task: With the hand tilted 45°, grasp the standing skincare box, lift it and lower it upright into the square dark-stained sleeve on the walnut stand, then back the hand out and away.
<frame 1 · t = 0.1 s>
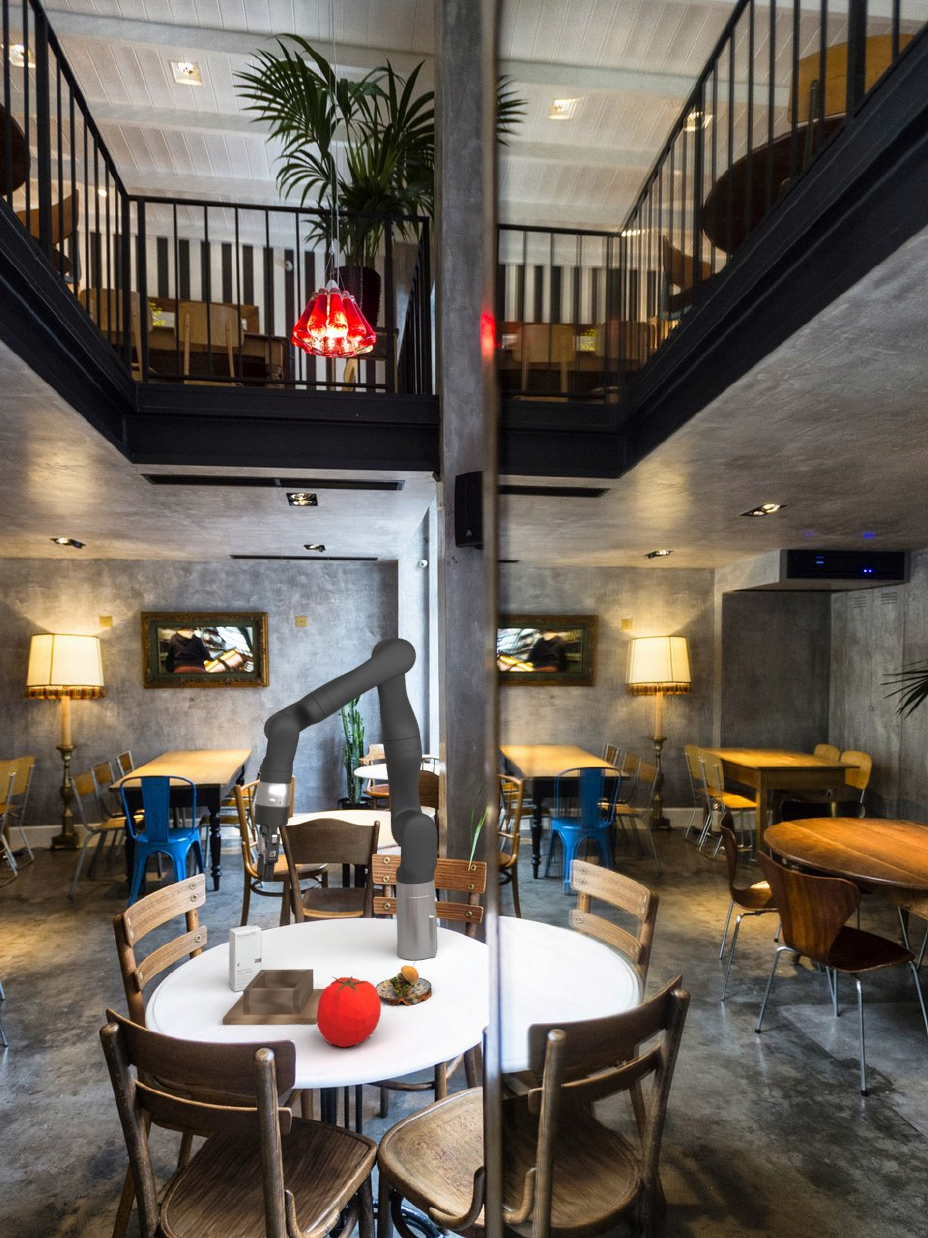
hand: (264, 878, 172), 22 cm above the table, tool pointing down, fingers open, 8 cm apart
open faced sandwich: (403, 997, 162), on the table
skincare box: (245, 987, 168), on the table
sleeve stand: (279, 1009, 156), on the table
tomato: (349, 1042, 141), on the table
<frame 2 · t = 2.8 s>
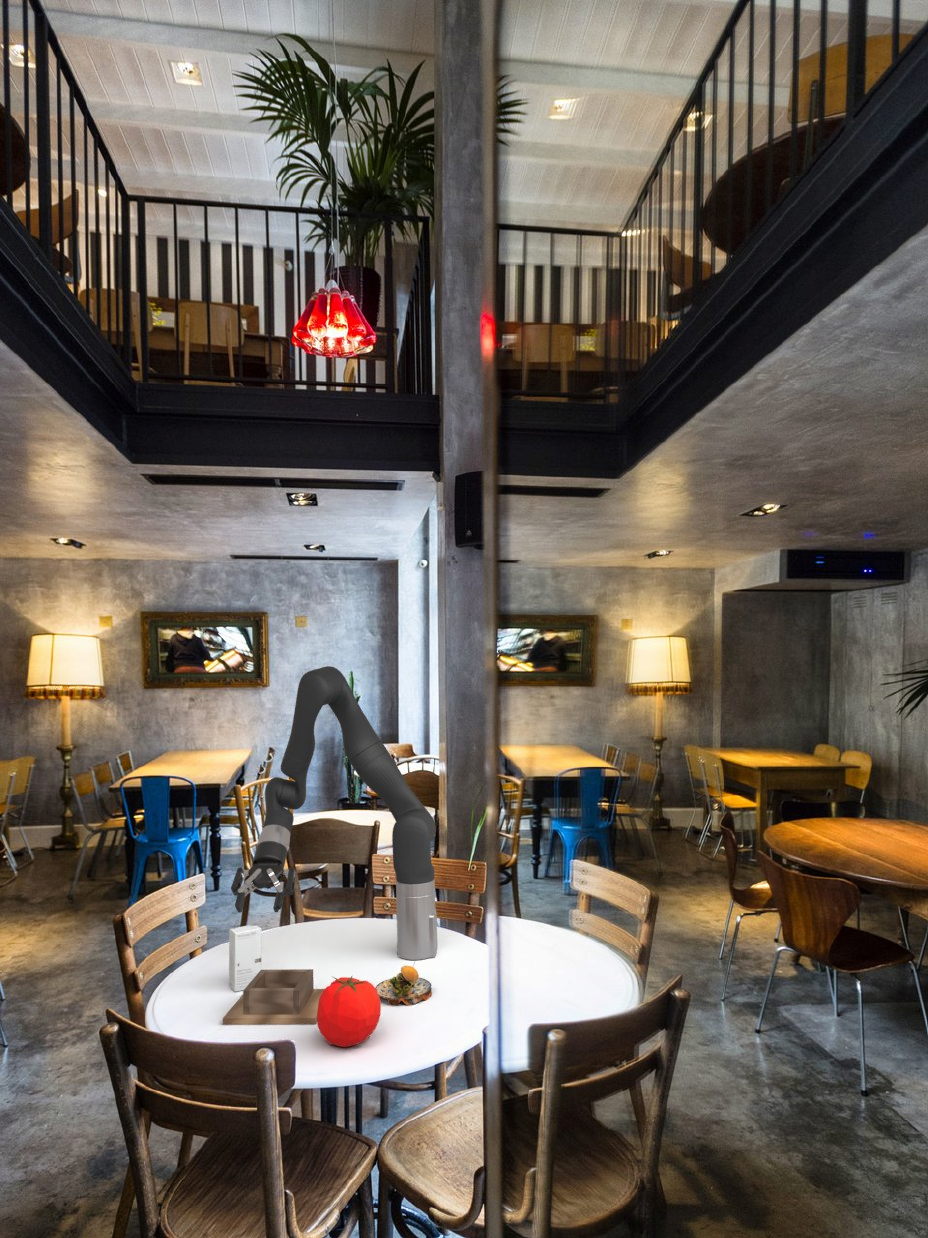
hand: (257, 910, 178), 13 cm above the table, tool tilted 45°, fingers open, 8 cm apart
nothing on the table moved.
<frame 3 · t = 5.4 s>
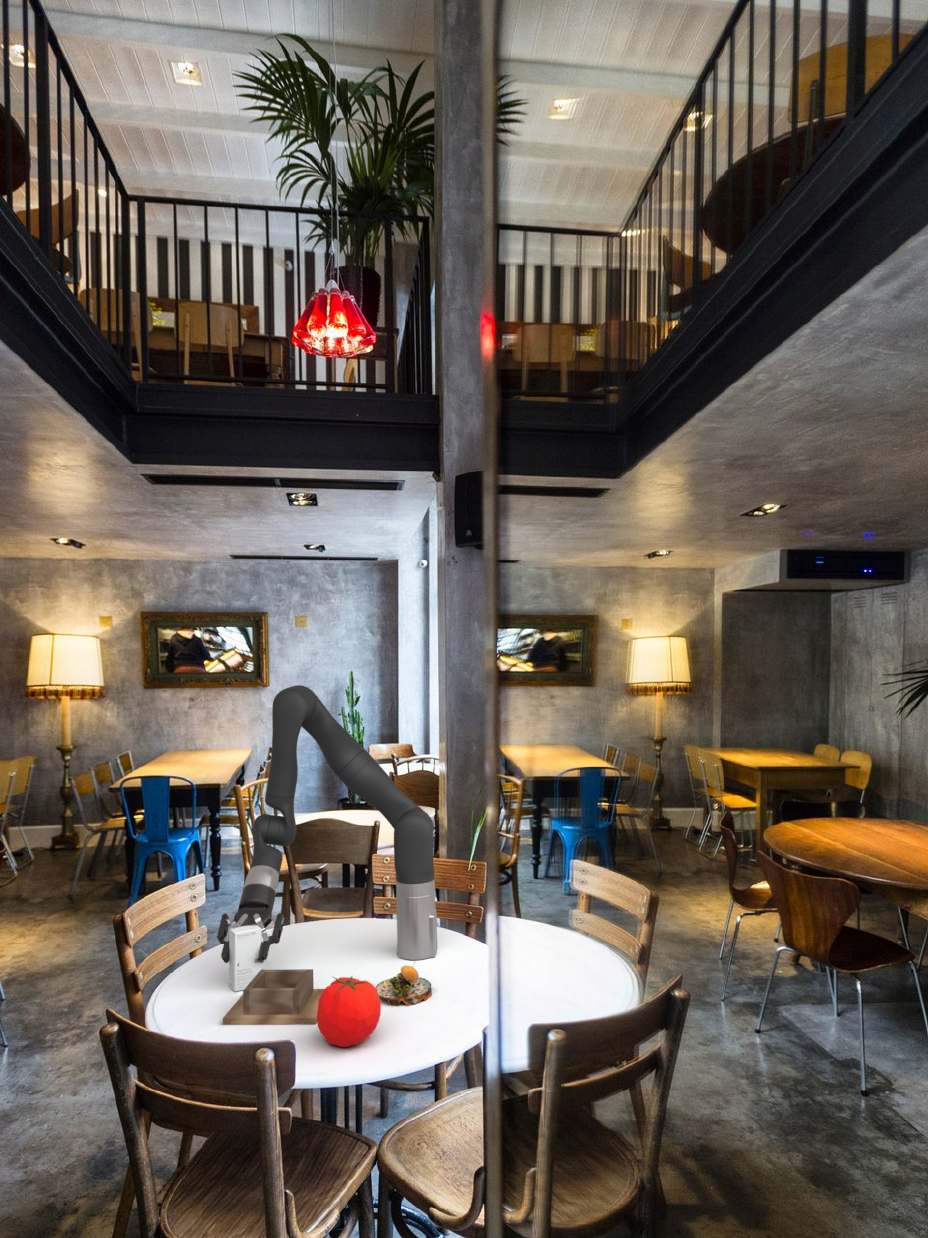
hand: (243, 961, 167), 6 cm above the table, tool tilted 45°, fingers closed on skincare box, 7 cm apart
skincare box: (245, 987, 168), on the table, touching gripper
everything else where it was.
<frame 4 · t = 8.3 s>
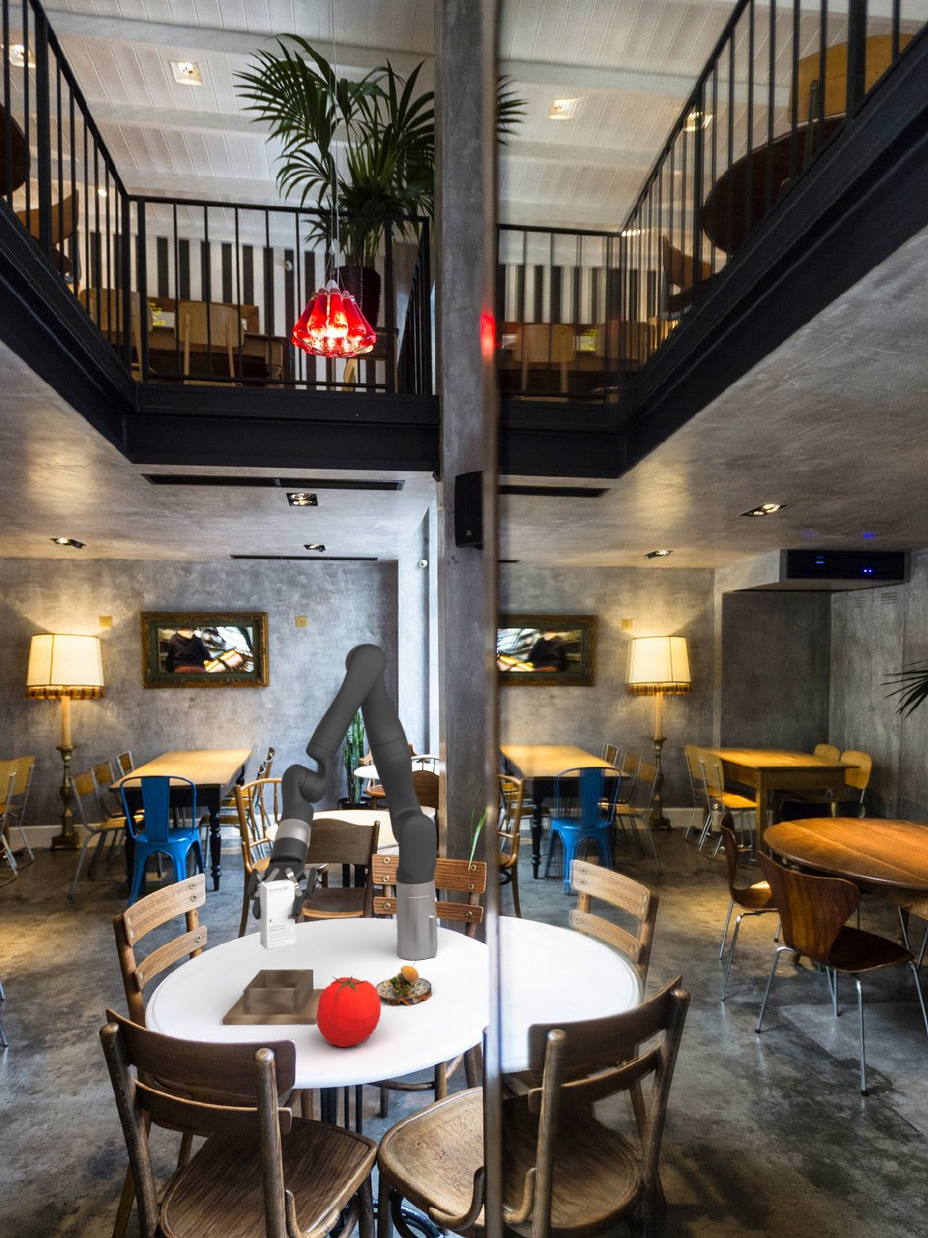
hand: (275, 917, 156), 18 cm above the table, tool tilted 45°, fingers closed on skincare box, 7 cm apart
skincare box: (278, 945, 157), point 12 cm above the table, touching gripper
everything else where it was.
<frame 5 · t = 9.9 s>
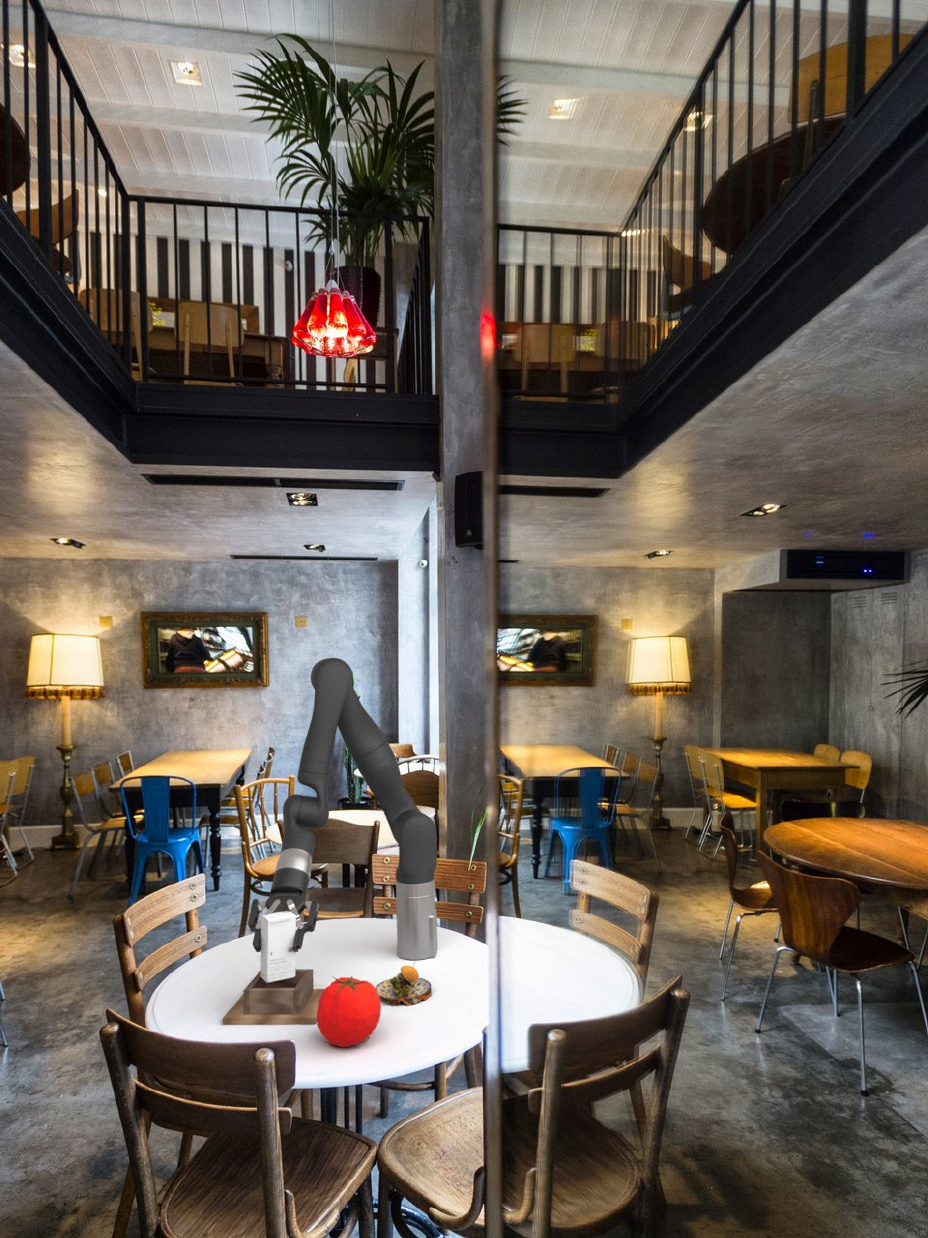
hand: (276, 950, 155), 12 cm above the table, tool tilted 45°, fingers closed on skincare box, 7 cm apart
skincare box: (278, 978, 156), point 6 cm above the table, touching gripper
everything else where it was.
when the fingers open (8 cm above the table, at t = 11.4 s): skincare box drops 1 cm, resting on sleeve stand.
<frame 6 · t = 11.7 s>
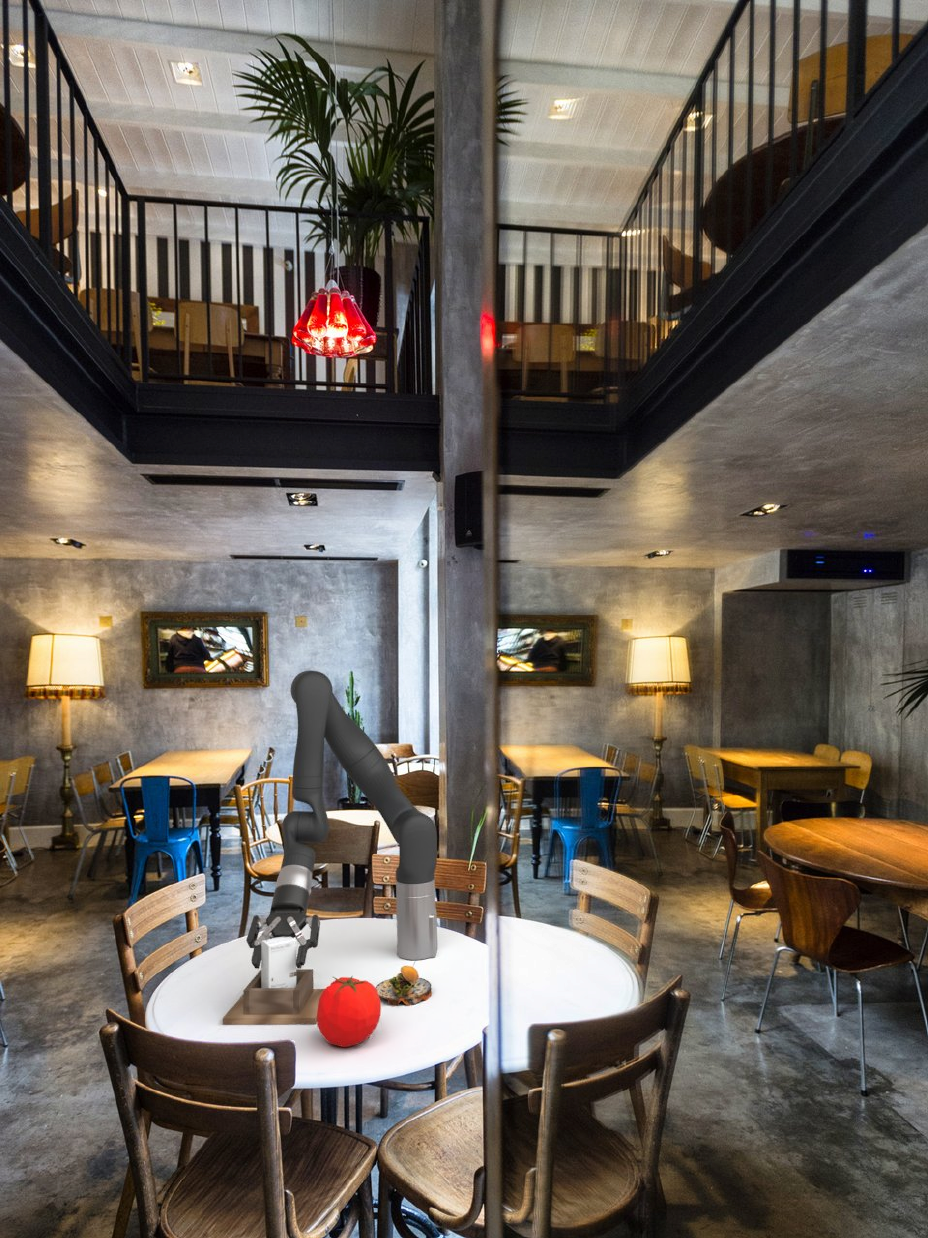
hand: (277, 967, 155), 9 cm above the table, tool tilted 45°, fingers open, 8 cm apart
skincare box: (279, 1003, 156), point 1 cm above the table, touching sleeve stand
everything else where it was.
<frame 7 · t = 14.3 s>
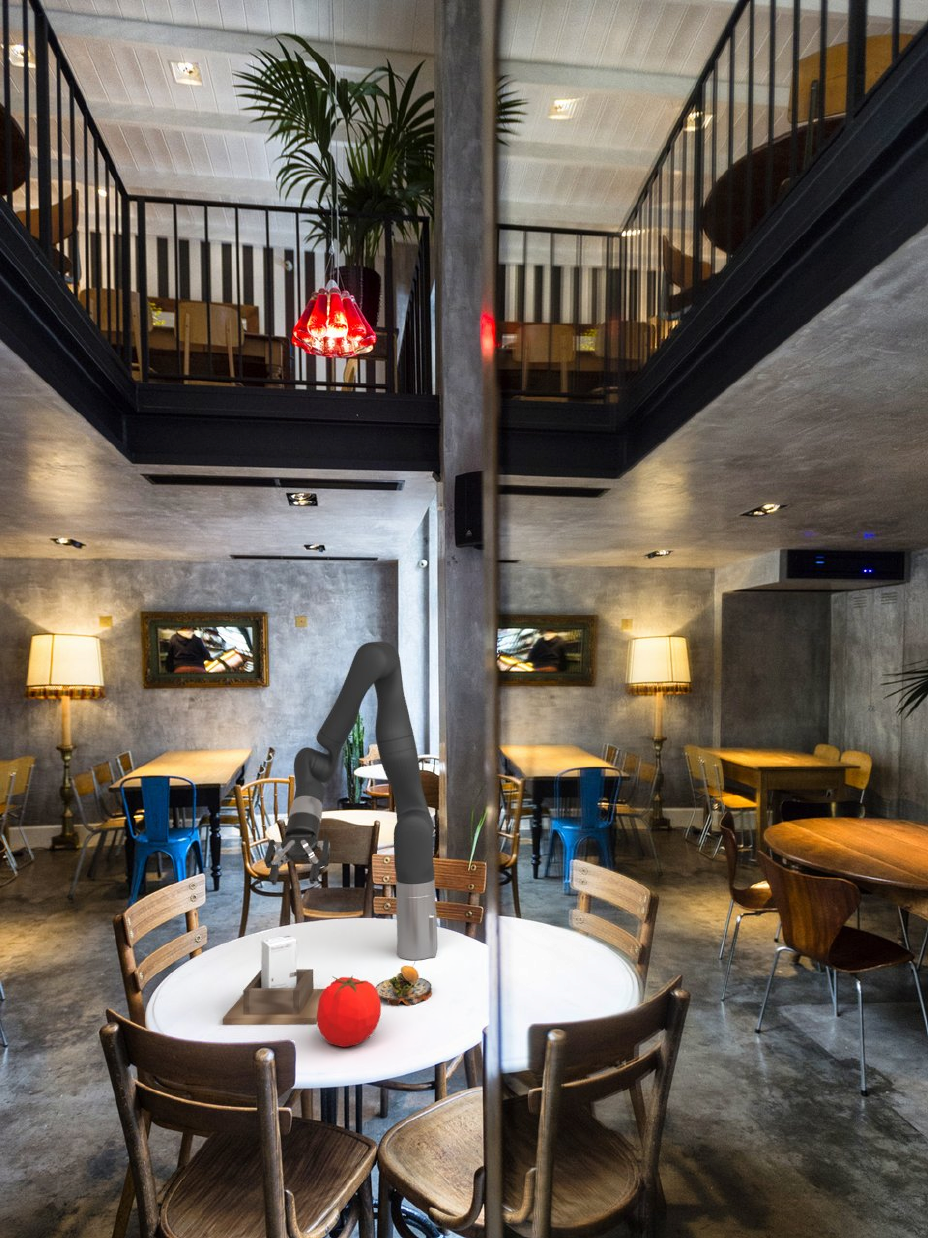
hand: (292, 882, 172), 21 cm above the table, tool tilted 45°, fingers open, 8 cm apart
nothing on the table moved.
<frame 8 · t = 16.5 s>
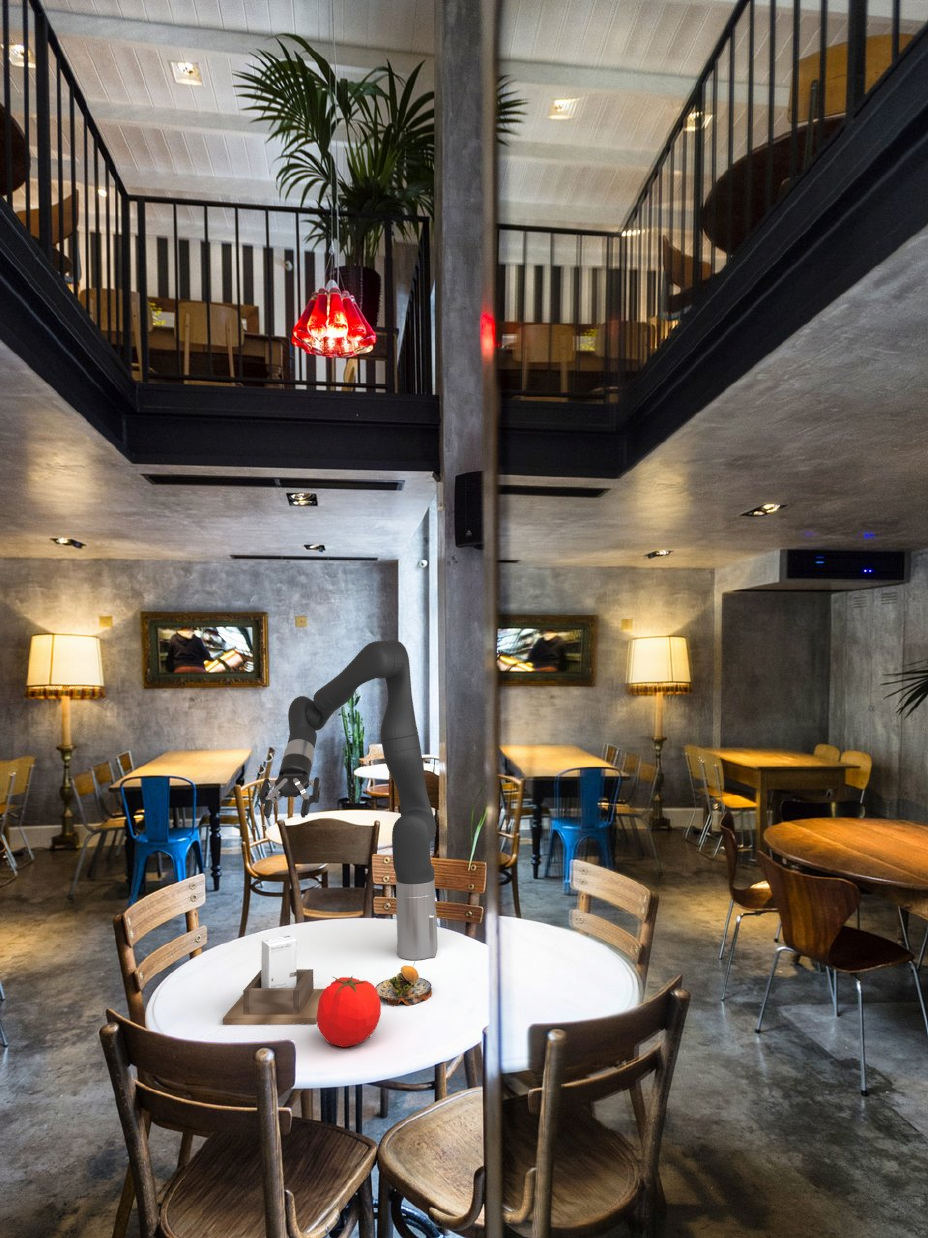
hand: (284, 816, 184), 34 cm above the table, tool tilted 45°, fingers open, 8 cm apart
nothing on the table moved.
at the end: skincare box 0.2 cm off-centre on the sleeve stand, point 1.0 cm above the sleeve stand's base; skincare box tilted 0°; the gripper is holding nothing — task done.
